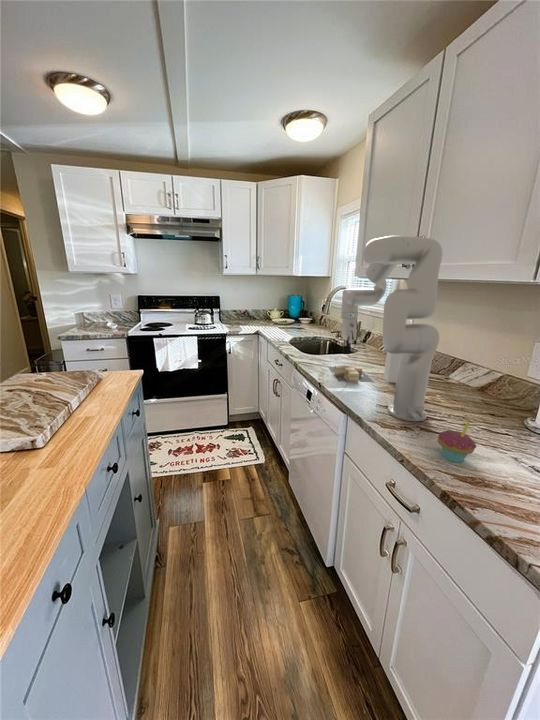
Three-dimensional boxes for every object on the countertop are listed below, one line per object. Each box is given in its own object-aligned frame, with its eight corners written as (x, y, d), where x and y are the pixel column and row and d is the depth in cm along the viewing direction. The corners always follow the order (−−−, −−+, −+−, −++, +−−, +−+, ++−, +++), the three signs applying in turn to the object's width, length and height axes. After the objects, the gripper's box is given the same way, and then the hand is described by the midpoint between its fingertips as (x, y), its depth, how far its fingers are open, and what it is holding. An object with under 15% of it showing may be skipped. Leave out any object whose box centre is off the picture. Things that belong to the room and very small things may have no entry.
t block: (367, 382, 131) (368, 373, 130) (340, 382, 131) (341, 373, 130) (358, 373, 143) (359, 365, 142) (333, 373, 142) (334, 365, 141)
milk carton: (398, 380, 138) (404, 340, 133) (403, 385, 132) (410, 343, 126) (383, 379, 139) (388, 339, 134) (387, 384, 132) (393, 343, 127)
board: (373, 384, 132) (374, 381, 132) (338, 383, 132) (338, 381, 131) (358, 369, 153) (358, 367, 153) (327, 368, 153) (327, 366, 152)
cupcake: (477, 460, 78) (487, 418, 75) (462, 471, 74) (472, 427, 70) (443, 445, 85) (451, 406, 82) (428, 454, 80) (436, 413, 77)
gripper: (362, 317, 133) (359, 357, 137) (352, 314, 148) (349, 350, 152) (345, 317, 133) (342, 357, 137) (337, 314, 147) (335, 350, 152)
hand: (346, 353), depth 145 cm, fingers closed
